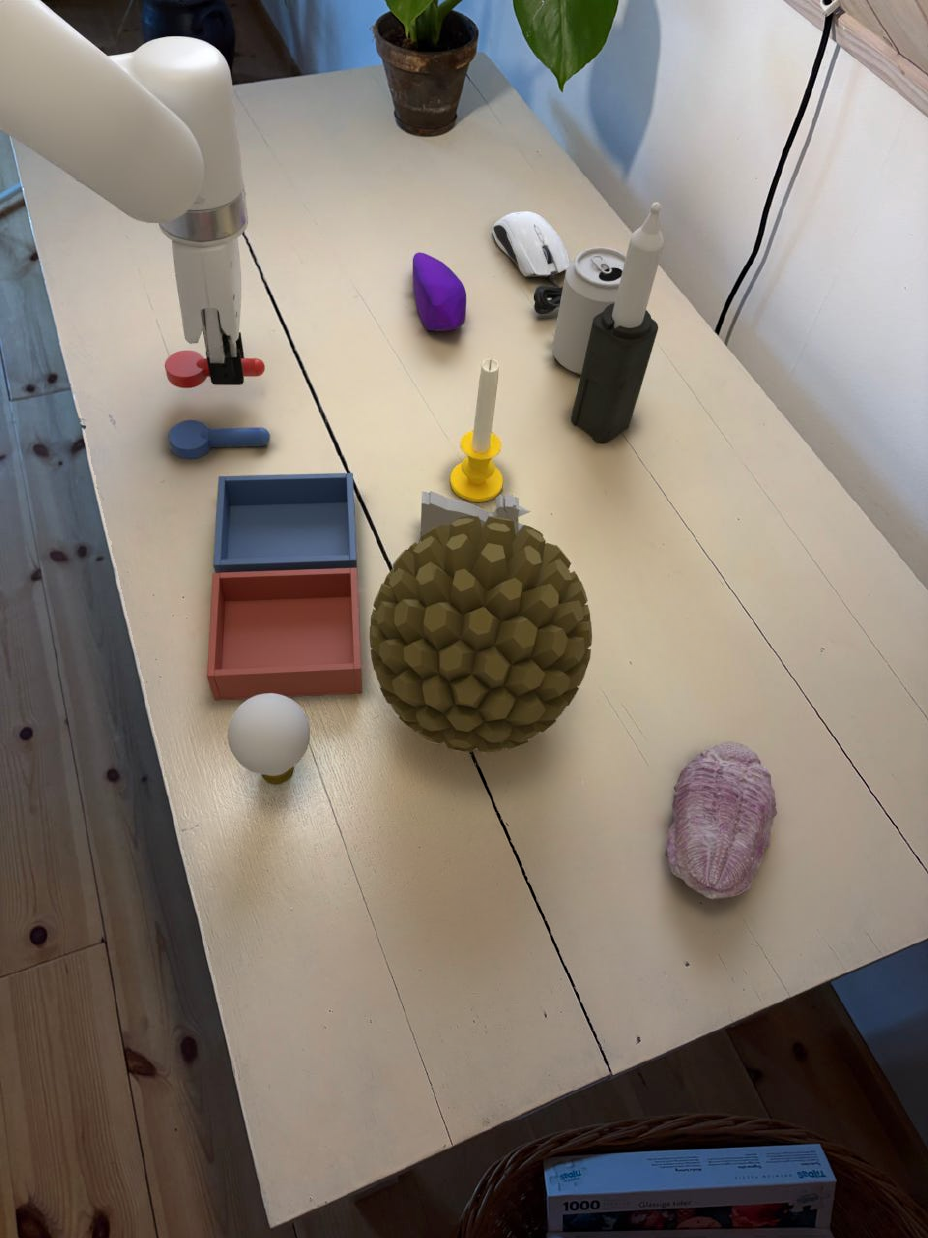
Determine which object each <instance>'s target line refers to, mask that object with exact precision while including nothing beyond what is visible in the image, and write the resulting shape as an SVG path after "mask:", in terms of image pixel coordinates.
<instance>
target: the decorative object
mask: <svg viewBox="0 0 928 1238" xmlns="http://www.w3.org/2000/svg"><path fill="white" fill-rule="evenodd" d="M522 525H523V526H522V528H521V529H520V530H519V531H518V533H517V534H516V533H515V526H514V521H513V520H509V519H505V518H499V517H491V516H489V517H488V519H487V520H486V522H485V524H484V526H483V528H482V525H481V522H480V519H479V517H477V516H468V517H461V518H459V519H457V520H456V521H455V522H453V523H452V524H451V525H443V526H442V525H441V524H440V525H438V526H436V527H435V528H433V529H431V530H430V531H428V532H426V533H425V534H423V535H422V536H421V535H420V540H421V542H420V541H419V542H414V543H412V544H411V545H410V546H409V547H408V548H407V549H404V551H403V552H401V554H400V555H399V556H398V557H397V558H396V559H395V561H394V562H393V564H392V568H391V569H390V571H389V572H388V574H386V576H385V579H384V581H383V583H381V584H380V586H379V589H378V592H377V594H376V596H375V599H374V602H373V607H374V608H373V609H372V612H371V615H370V626H369V646H370V648H371V649H370V657H371V662H372V667H373V670H374V672H375V676H376V680H377V682H378V684H379V686H380V687H379V690H380V692H381V693H382V696H383V698H384V699H385V701H386V703H387V704H388V705H389V704H390V705H391V707H392V709H393V711H394V713H396V715H398V719H399V720H400V721H402V722H403V724H404V725H405V726H407V727H408V728H409V729H410V730H412V731H413V732H417V733H418V735H419V736H421V737H422V738H423V739H424V740H426V741H428V742H430V743H433V744H437V745H438V744H442V743H444V744H445V746H446V748H447V749H450V750H454V751H459V752H464V753H465V752H466V753H473V752H474V751H475V750H478V751H479V752H481V753H486V754H493V753H496V752H500V751H503V750H504V749H507V750H510V749H514V748H517V747H519V746H522V745H524V744H526V743H528V742H529V740H531V739H533V738H535V737H536V736H538V735H539V734H540V733H545V732H546V731H548V729H550V728H551V727H552V726H553V725H554V724H555V723H556V722H557V720H556V719H558V718H559V717H560V716H561V715H562V714H563V712H564V710H565V709H566V707H570V704H571V703H572V701H573V700H574V698H575V697H576V695H577V693H578V691H579V690H580V685H581V683H582V682H583V680H584V679H585V675H586V672H587V669H588V666H589V663H590V660H591V655H592V654H591V653H592V648H591V646H592V644H593V630H592V629H593V628H592V621H591V612H590V608H589V604H587V603H588V602H589V601H588V597H587V593H586V590H585V588H584V585H583V583H582V581H581V580H580V578H579V576H578V574H577V572H576V571H575V570H574V571H572V572H571V570H570V567H571V565H572V562H571V560H570V559H569V558H568V556H567V555H566V554H565V553H564V551H562V549H561V548H560V547H559V546H558V545H557V544H552V543H549V542H547V540H546V539H545V537H544V534H543V533H542V532H541V531H540V530H538V529H535V528H534V527H532V526H529V525H526V524H522Z"/></svg>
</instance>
